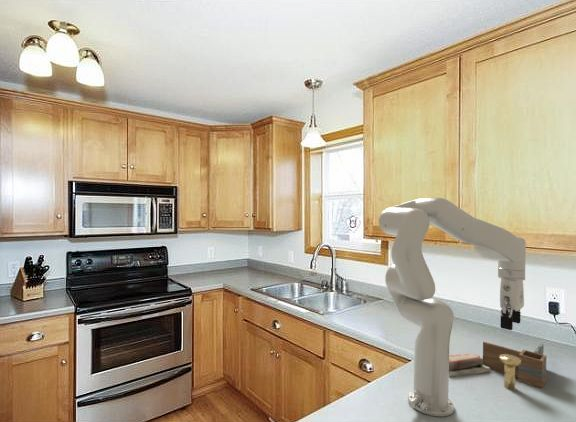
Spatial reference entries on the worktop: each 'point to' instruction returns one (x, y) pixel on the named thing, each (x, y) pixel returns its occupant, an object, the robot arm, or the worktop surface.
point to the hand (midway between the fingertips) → (510, 325)
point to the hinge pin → (509, 369)
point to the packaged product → (466, 364)
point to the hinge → (530, 366)
